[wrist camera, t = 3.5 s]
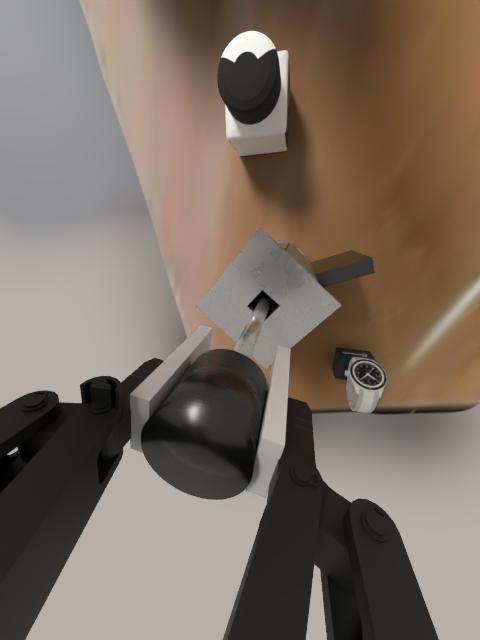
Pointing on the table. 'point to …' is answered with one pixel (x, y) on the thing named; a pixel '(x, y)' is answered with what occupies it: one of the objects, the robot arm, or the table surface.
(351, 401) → the watch
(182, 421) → the plunger
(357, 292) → the table surface
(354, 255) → the press
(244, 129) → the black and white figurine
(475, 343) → the table surface
